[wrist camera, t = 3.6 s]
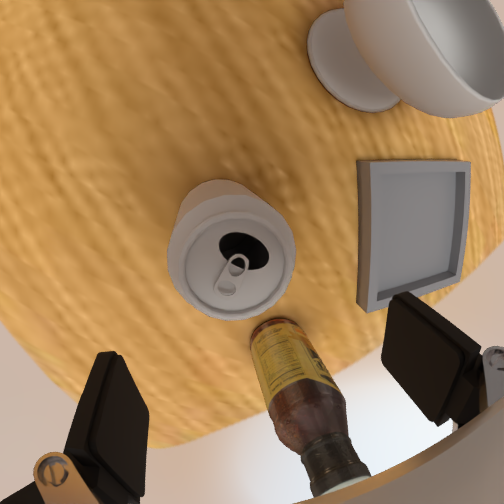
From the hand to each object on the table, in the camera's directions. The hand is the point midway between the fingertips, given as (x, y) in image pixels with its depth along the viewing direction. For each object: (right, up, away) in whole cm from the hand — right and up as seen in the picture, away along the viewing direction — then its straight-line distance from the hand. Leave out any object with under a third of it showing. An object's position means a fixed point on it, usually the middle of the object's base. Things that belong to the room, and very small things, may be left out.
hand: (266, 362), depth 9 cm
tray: (+19, +6, +21) cm, 29 cm away
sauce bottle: (+2, -6, +23) cm, 23 cm away
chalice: (+11, +23, +14) cm, 29 cm away
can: (-3, +7, +17) cm, 19 cm away
